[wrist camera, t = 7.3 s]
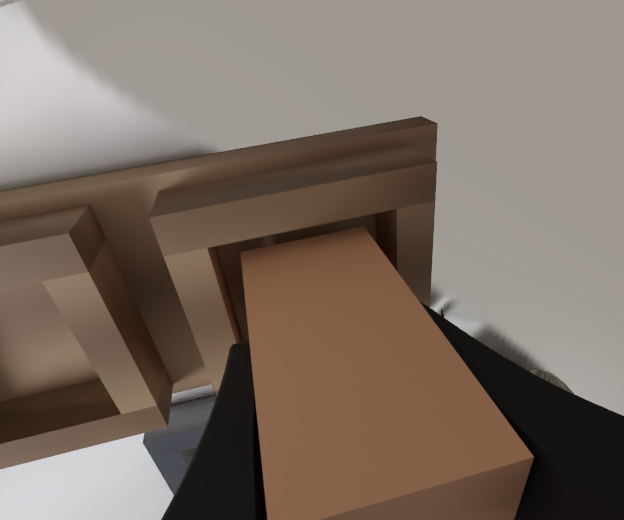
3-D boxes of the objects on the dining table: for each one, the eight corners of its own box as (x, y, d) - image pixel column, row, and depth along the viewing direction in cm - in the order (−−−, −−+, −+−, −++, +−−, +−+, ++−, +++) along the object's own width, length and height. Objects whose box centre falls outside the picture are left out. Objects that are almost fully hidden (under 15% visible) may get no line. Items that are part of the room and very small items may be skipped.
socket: (332, 463, 23) (339, 490, 22) (196, 500, 22) (195, 531, 21) (317, 369, 19) (324, 395, 17) (148, 411, 18) (143, 442, 17)
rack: (415, 314, 18) (449, 363, 16) (-41, 423, 16) (-93, 502, 13) (420, 116, 14) (471, 138, 11) (-226, 231, 11) (-365, 295, 9)
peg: (368, 320, 15) (498, 569, 8) (264, 345, 14) (305, 632, 7) (363, 226, 13) (533, 456, 6) (240, 251, 12) (268, 533, 5)
